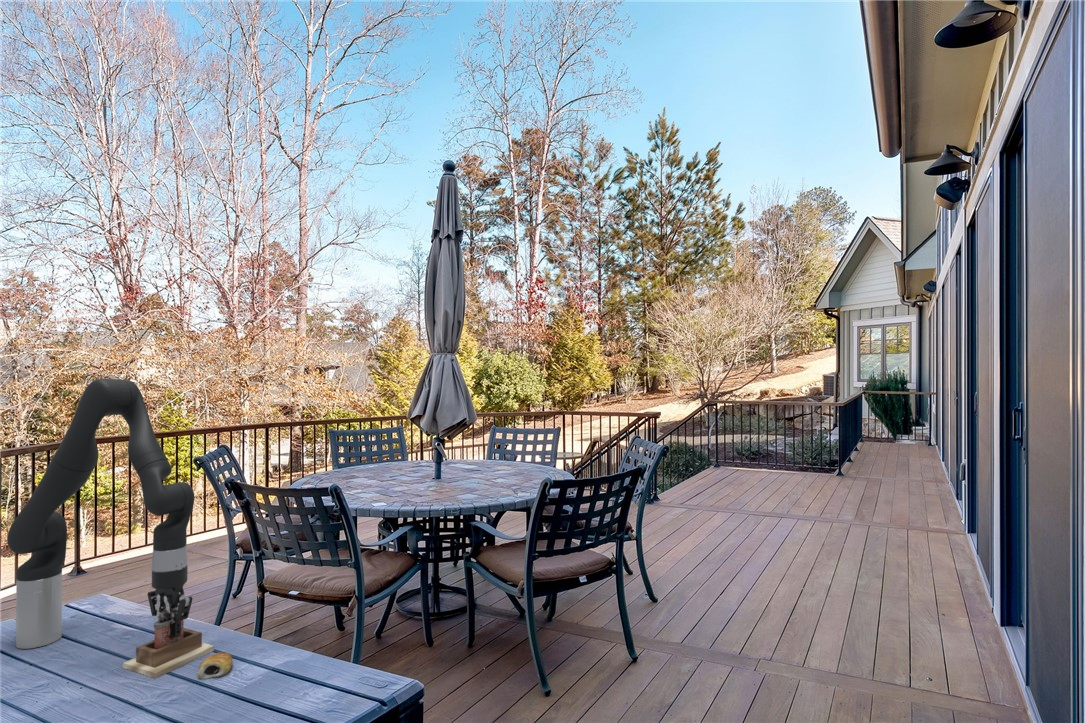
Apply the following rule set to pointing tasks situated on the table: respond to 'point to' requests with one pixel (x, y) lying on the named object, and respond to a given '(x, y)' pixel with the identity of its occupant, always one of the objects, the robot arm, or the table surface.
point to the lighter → (165, 630)
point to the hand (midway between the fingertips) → (169, 635)
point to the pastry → (215, 666)
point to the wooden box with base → (168, 655)
